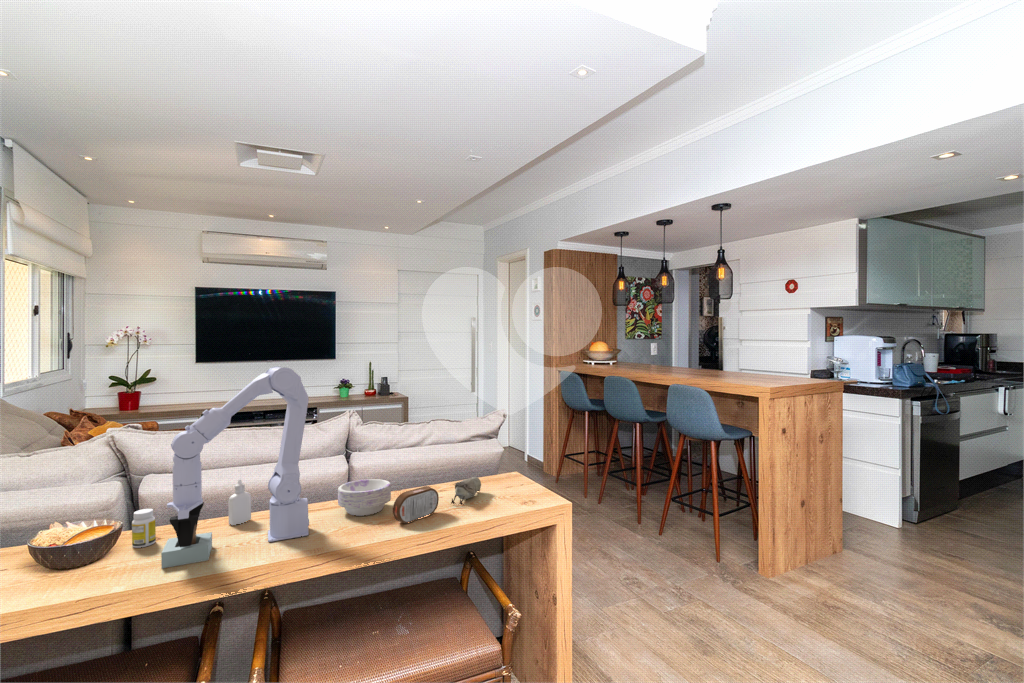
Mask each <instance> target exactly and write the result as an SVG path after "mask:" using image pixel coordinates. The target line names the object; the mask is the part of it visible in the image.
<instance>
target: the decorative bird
mask: <svg viewBox="0 0 1024 683" xmlns="http://www.w3.org/2000/svg"><path fill="white" fill-rule="evenodd" d="M452 485H454V489H455V490H454V493H455V495H454V498H451V502H450V503H451V504H454V505H455V504H456V505H457V503H456V502H455V500H456V497H458V498H459V501H460V502H458V505H459V504H460V505H462V506H465V504H464V503H463V502H464V500H465V499H466V500H469V499H471V498H474V497H475V496H476V494H477V491H479V492H480V491H481V489H482V488H481V487H482V482H481V479H480V478H479V477H478V476H471V477H469V478H466V479H463V480H460V481H458V482H455V483H453V484H452ZM468 498H469V499H468Z"/></svg>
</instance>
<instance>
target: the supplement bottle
mask: <svg viewBox="0 0 1024 683" xmlns="http://www.w3.org/2000/svg"><path fill="white" fill-rule="evenodd" d="M156 534H157V533H156V517H155V516H154V509H153V508H143V509H142V508H141V509H138V510H136V511H134V512H133V520H132V521H131V544H132V545H131V546H132V547H133V548H135V549H139V548H141V547H142V548H146V547H149V546H152V545H154V544H155V543H156V541H157V540H156V539H157V538H156V537H157V536H156Z"/></svg>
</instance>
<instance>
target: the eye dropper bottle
mask: <svg viewBox="0 0 1024 683" xmlns="http://www.w3.org/2000/svg"><path fill="white" fill-rule="evenodd" d="M251 498H252V496H251V493H250V492H249V491H246V488H245V483H243V482H242V479H238V480H237V483H236V484H234V493H233V494H232V495H230V497H229V498H228V525H230V524H231V525H230V526H233V525H235V526H237V525H236V524H240V525H242V524H241V523H243V524H245V523H244V522H246V521H248V520H250V519H251V520H252V499H251ZM251 520H250V521H251ZM248 522H249V521H248ZM246 523H247V522H246Z"/></svg>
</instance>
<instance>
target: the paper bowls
mask: <svg viewBox="0 0 1024 683" xmlns="http://www.w3.org/2000/svg"><path fill="white" fill-rule="evenodd" d="M391 488H392V484H391V482H390V481H388V480H385V479H379V478H369V479H367V478H366V479H359V480H352V481H347V482H345V483H343V484H341V485H339V486H338V488H337V503H338V504H337V505H338V506H339V507H342V508H343V509H344V510H345V512H346V513H347V514H349V515H351V516H354V515H356V516H355V517H365V516H364V515H366V516H371V515H370V514H372V515H374V513H375V514H377V512H378V513H379V512H381V511H382V510H383V509H384V507H385V506H386V504H387V503H388V502H390V501H391V500H392V492H391V491H392V489H391Z"/></svg>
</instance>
